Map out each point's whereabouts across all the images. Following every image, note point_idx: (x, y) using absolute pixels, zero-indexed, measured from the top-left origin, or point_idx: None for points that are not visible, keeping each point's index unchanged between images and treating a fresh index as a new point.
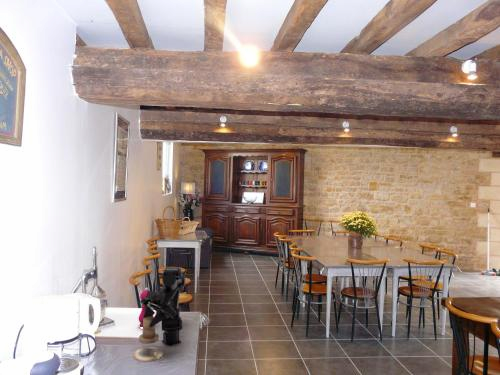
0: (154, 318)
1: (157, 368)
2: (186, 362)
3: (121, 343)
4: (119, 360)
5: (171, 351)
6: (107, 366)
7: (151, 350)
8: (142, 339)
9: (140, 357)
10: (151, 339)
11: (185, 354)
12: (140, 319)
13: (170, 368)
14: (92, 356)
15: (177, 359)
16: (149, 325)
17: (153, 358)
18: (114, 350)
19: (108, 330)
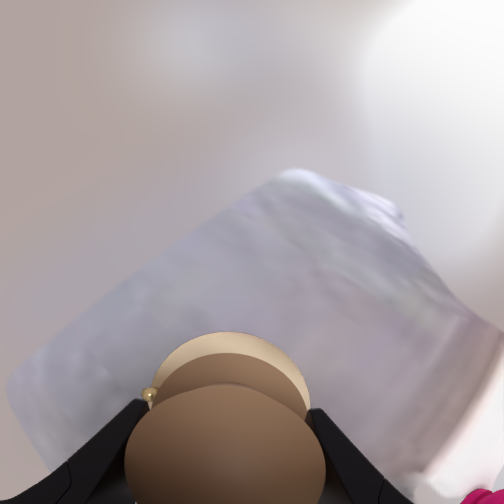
0: (74, 469)
1: (87, 330)
2: (44, 435)
3: (435, 379)
4: (289, 276)
5: None
6: (275, 214)
7: None
8: (217, 357)
9: (213, 343)
10: (160, 399)
11: None
12: (500, 494)
13: (50, 360)
14: (394, 230)
15: None
16: (140, 401)
17: (153, 379)
18: (396, 320)
19: None
